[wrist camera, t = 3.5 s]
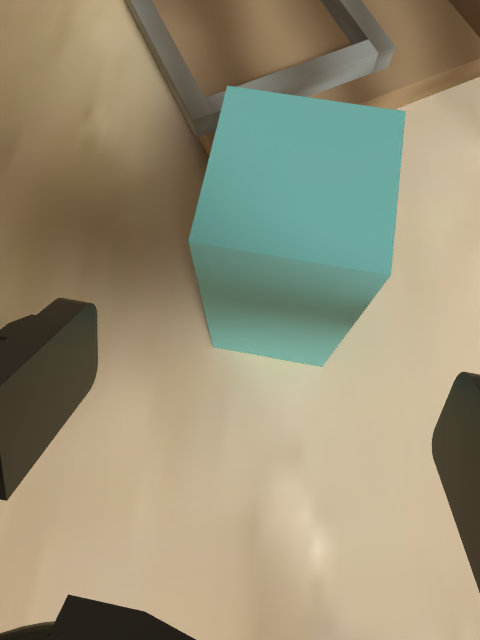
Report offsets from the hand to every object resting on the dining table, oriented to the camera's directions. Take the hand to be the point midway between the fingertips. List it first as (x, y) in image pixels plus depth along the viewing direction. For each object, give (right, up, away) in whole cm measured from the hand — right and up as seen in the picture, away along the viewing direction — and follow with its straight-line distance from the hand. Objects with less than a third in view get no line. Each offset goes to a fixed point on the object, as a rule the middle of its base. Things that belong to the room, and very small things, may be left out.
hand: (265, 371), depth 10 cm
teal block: (+1, +2, +11) cm, 11 cm away
